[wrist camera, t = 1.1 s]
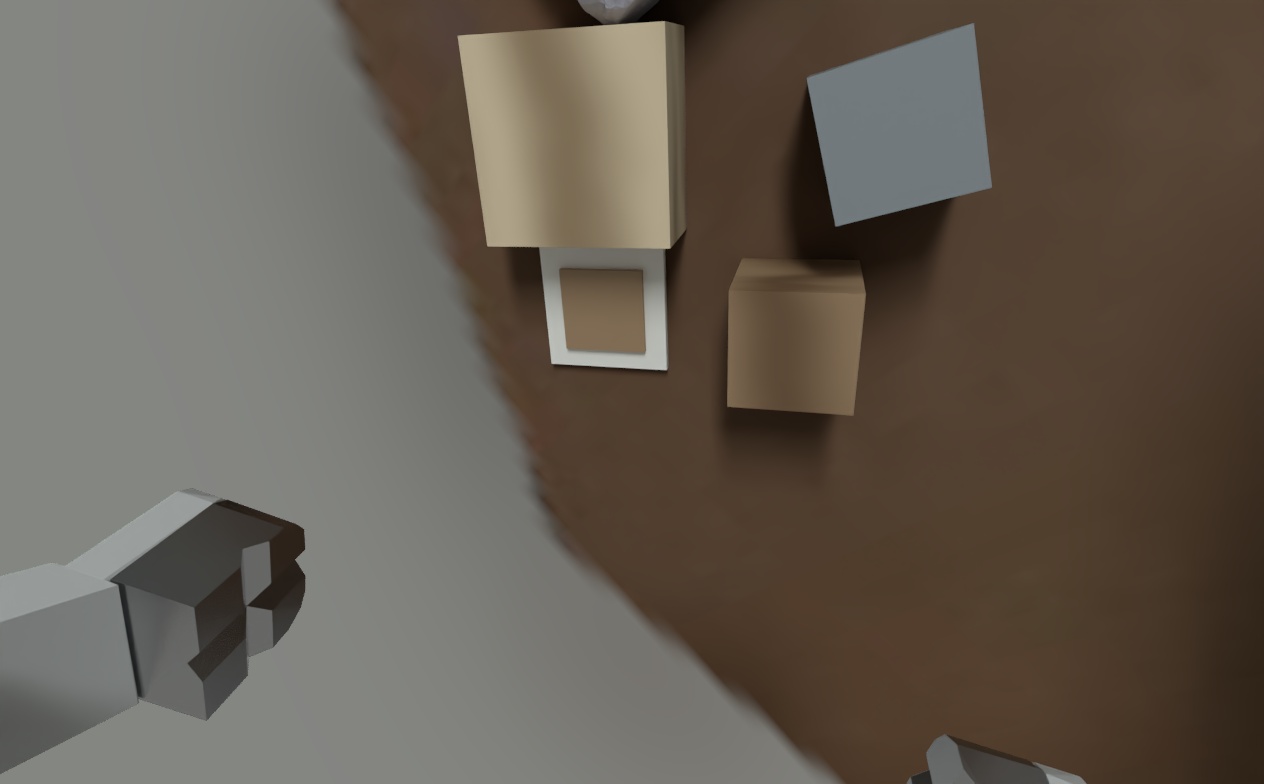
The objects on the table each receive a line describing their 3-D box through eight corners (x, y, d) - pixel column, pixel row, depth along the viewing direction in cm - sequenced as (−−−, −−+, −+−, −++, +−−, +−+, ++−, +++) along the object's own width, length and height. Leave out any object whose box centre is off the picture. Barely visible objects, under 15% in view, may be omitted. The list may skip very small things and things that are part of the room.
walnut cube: (859, 259, 29) (866, 294, 25) (849, 366, 31) (853, 415, 27) (742, 257, 30) (728, 290, 26) (740, 360, 32) (727, 406, 28)
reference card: (665, 246, 31) (662, 250, 30) (668, 366, 33) (665, 372, 33) (542, 244, 32) (536, 248, 31) (554, 360, 35) (549, 365, 34)
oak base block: (685, 26, 27) (664, 21, 23) (687, 227, 30) (670, 248, 27) (501, 38, 29) (457, 35, 25) (523, 226, 32) (487, 246, 29)
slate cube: (946, 30, 25) (973, 23, 20) (963, 167, 26) (991, 187, 22) (809, 75, 26) (806, 78, 22) (833, 201, 28) (835, 226, 24)
